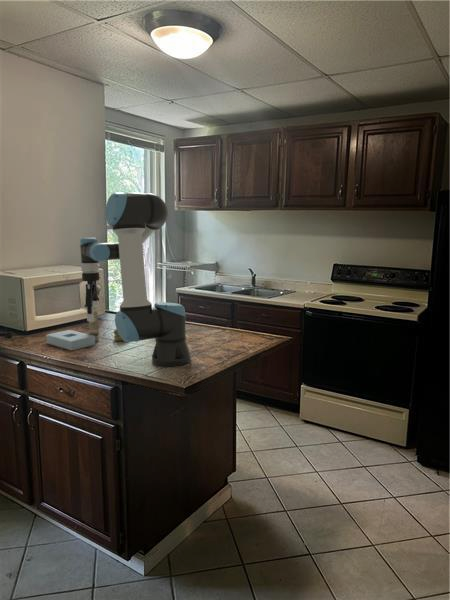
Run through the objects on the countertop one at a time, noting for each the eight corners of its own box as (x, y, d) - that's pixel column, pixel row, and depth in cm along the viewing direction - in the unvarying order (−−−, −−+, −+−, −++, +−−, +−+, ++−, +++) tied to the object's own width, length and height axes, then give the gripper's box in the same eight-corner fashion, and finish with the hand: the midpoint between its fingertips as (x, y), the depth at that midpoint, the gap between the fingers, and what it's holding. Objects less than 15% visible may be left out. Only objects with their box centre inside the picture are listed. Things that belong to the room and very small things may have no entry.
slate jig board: (95, 344, 200) (94, 335, 200) (71, 350, 191) (71, 341, 190) (70, 337, 213) (69, 329, 212) (46, 343, 204) (46, 334, 203)
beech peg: (96, 342, 204) (94, 308, 202) (88, 341, 205) (86, 307, 203) (100, 339, 208) (99, 306, 206) (92, 339, 209) (90, 306, 207)
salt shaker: (118, 337, 212) (117, 317, 211) (132, 338, 211) (131, 317, 209) (111, 341, 205) (110, 320, 204) (126, 342, 204) (125, 321, 202)
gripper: (94, 275, 190) (97, 323, 194) (102, 268, 214) (105, 311, 218) (76, 275, 189) (79, 323, 193) (86, 269, 213) (89, 312, 217)
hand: (93, 317), depth 205 cm, fingers open, 13 cm apart
